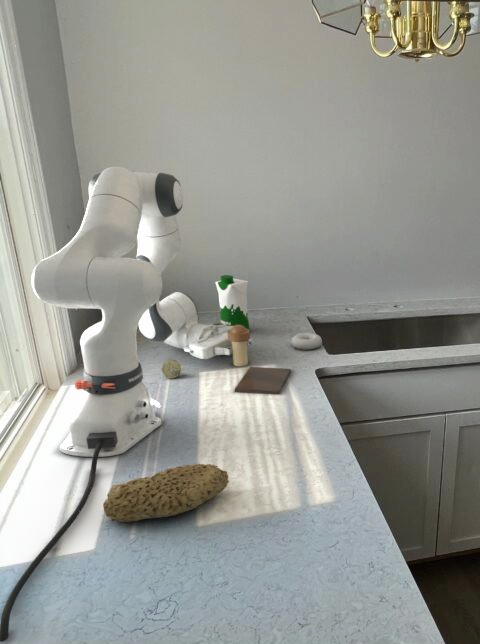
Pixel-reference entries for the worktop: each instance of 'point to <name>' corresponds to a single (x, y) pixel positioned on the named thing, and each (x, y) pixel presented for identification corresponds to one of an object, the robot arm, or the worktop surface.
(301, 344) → the donut
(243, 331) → the mushroom
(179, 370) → the olive green ball
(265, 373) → the board
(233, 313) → the milk carton
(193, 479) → the sponge
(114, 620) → the worktop surface
